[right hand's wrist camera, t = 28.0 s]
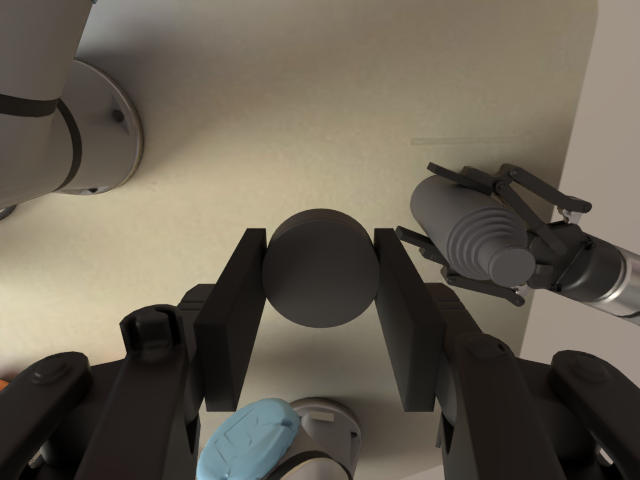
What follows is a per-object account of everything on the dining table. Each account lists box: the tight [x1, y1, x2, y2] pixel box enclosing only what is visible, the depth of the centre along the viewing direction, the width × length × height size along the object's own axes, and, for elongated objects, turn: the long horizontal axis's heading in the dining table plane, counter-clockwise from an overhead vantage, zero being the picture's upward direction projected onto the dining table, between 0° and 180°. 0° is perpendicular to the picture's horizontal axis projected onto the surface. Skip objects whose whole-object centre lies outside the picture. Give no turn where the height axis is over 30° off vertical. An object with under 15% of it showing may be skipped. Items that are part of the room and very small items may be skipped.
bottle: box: [410, 175, 535, 287], centre depth 36 cm, size 7×7×19 cm
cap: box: [261, 209, 380, 328], centre depth 14 cm, size 4×4×2 cm
